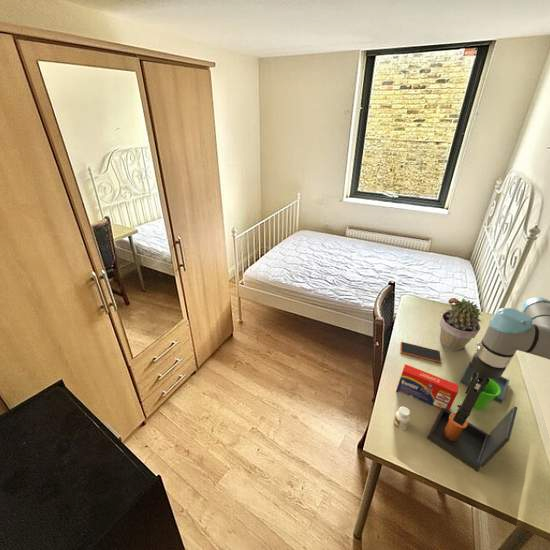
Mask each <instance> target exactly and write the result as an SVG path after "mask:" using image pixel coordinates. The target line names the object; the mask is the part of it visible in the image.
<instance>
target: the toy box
mask: <svg viewBox="0 0 550 550" xmlns="http://www.w3.org/2000/svg"><path fill="white" fill-rule="evenodd" d="M395 392H396V393H399V392H400V393H402V394H404V395H406V396H409V397H411V398H412V399H413V398H414V399H415V400H418V401H420V402H422V403H425V404H427V405H429V406H432V407H434V408H436V409H438V410H441V409H442V407H443V408H445V409H446V410H448V411H450V410H451V407H452V406H453V404H454V401H456V400H455V399H456V398H457V395H458V393H459V384H457V383H455V382H452V381H451V380H447V379H444V378H442V377H439V376H437V375H434V374H432V373H430V372H427V371H424V370H422V369H419V368H416V367H413V366H411V365H409V364H406V363H404V366H403V368H402V372H401V375H400V377H399V381H398V384H397V386H396V390H395Z"/></svg>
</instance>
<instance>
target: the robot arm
mask: <svg viewBox="0 0 550 550" xmlns="http://www.w3.org/2000/svg"><path fill="white" fill-rule="evenodd" d="M476 345H477V346H478V347H477V348H476V351H475V352H474V354H473V356H472V358H471V360H470V362H471V365H472V367H473V368H474V370H475V372H474V373H473V375H472V380H471V382H470V384H469V386H467V388H466V390H465V392H464V394H466V395H465V397H464V399H463V401H462V403H461V404H460V405H459V404H457V408H458V409H457V411H456V412H455V413H456V415H455V416H454V418H453V421H455V422H456V423H458V424H460V425H461V426H463V424H464V423H465V421H466V420H467V419H468V418H469V417H470V416H471V412H472V411H473V409H474V408H473V407H474V405H475V403H476V401H477V399H478V397H479V395H480V393H481V392H483V390H484V388H485V386H486V385H487V384H488V383H489V381H490V378H499V377H501V376H502V377H503V374H504V372H505V371H506V369H507V367H508V366H509V364H510V363H511V361H512V359H513V358H514V356H515V354H516V352H517V351H520V352H523V353H526V354H531V355H533V356H537V357H540V358H544V359H546V360H550V300H549V299H548V298H545V297H541V296H540V297H539V296H538V297H536V296H535V297H531V298H529V299H526V300H525V301H524V302H523V304H522V305H521V308H520V310H518V309H516V308H513V307H501V308H499V309H498V310H497V311H496V312H495V313H494V315H493V317H492V318H491V319H490V321H489V324H488V326H487V329H486V330H485V333H484V335H483V337H482V339H481V340H480V341H478V342H476ZM488 378H489V379H488ZM483 384H484V385H483Z"/></svg>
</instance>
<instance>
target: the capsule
mask: <svg viewBox="0 0 550 550" xmlns="http://www.w3.org/2000/svg"><path fill="white" fill-rule="evenodd" d="M456 413H457V412H452V413H451V414H450V416H449V421H448V423H447V425H446V427H445V429H444V435H445V437H446V438H447V439H449V440H451V441H457V440H458V438H459V436H460V435H461V433H462V431H463V429H464V428H466V427H467V425H468V423H467V422H468V420H467V419H466V421H465V423H464V424H463V426H461V425H460V424H458V423H456V422H455V421H453V418H454V416H455V415H456Z"/></svg>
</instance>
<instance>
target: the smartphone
mask: <svg viewBox="0 0 550 550" xmlns="http://www.w3.org/2000/svg"><path fill="white" fill-rule="evenodd" d="M400 354H405V355H409V356H412V357H416V358H420V359H424V360H428V361H432V362H436V363H442V356H441V351H440V350H438V349H434V348H429V347H424V346H421V345H416V344H413V343H410V342H409V343H408V342H404V341H401V342H400Z"/></svg>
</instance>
